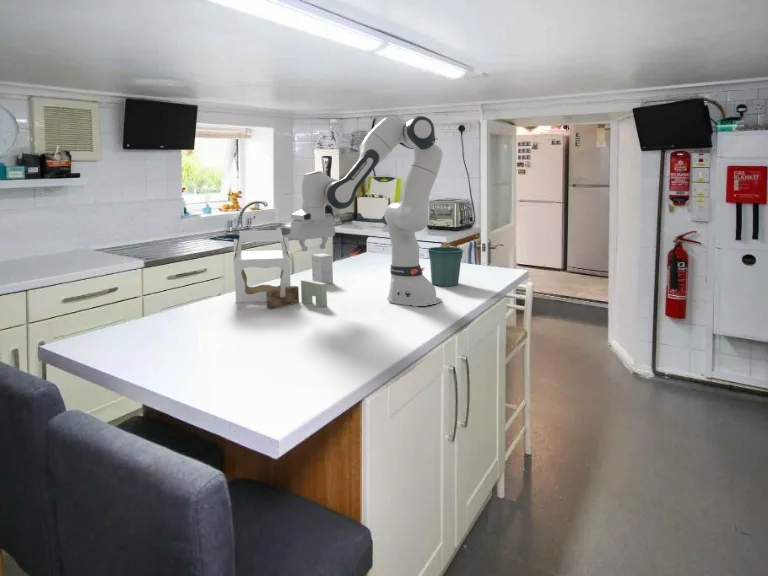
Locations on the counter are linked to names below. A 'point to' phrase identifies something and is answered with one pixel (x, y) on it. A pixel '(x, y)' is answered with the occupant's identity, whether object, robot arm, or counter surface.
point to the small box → (322, 268)
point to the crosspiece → (314, 292)
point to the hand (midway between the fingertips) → (313, 249)
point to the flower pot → (445, 265)
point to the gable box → (260, 264)
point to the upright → (277, 301)
